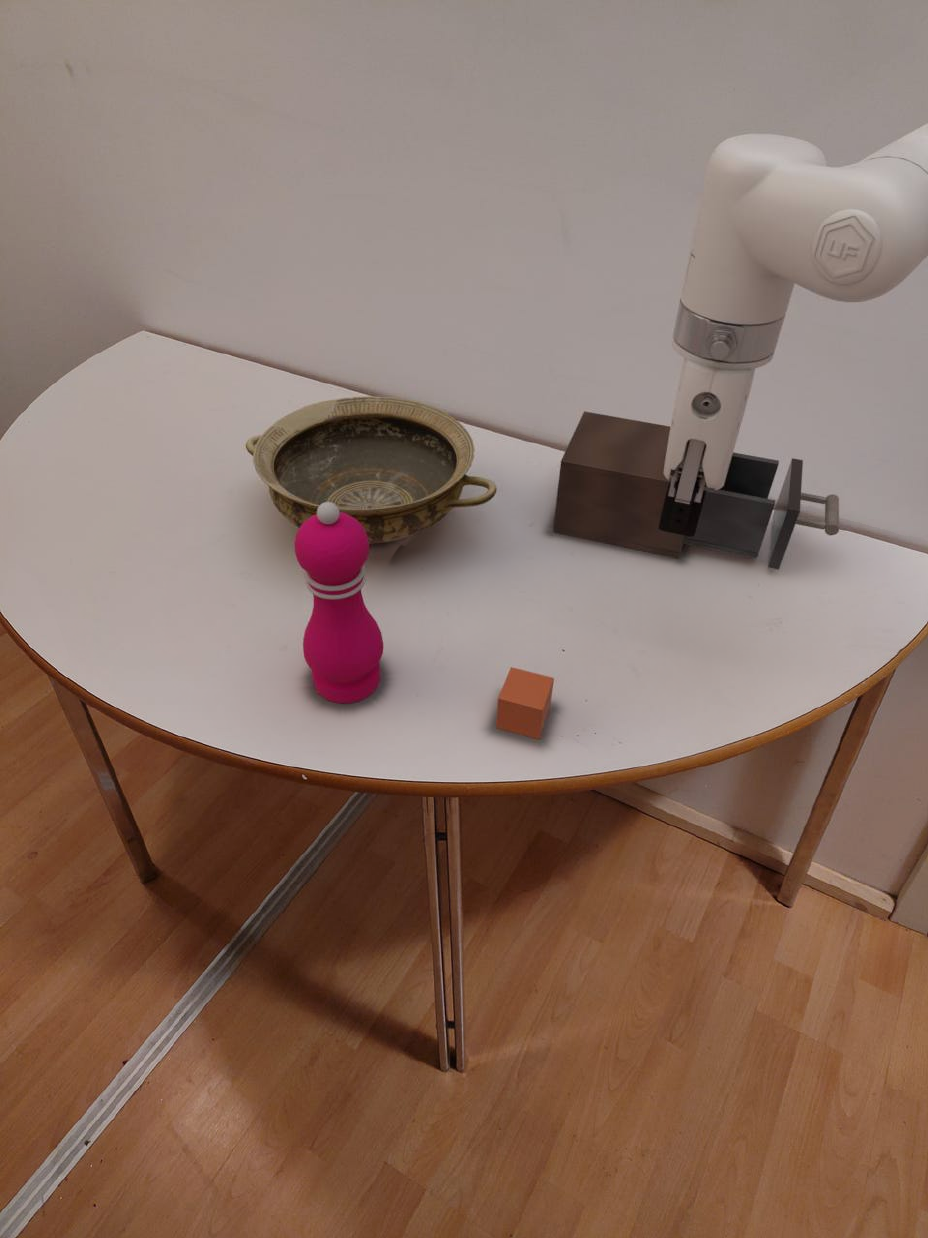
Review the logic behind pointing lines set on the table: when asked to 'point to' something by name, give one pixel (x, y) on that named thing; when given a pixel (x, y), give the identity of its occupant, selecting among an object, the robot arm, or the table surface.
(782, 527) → the drawer
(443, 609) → the table surface
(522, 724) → the block
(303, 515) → the ceramic bowl
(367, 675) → the pepper mill
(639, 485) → the cabinet
